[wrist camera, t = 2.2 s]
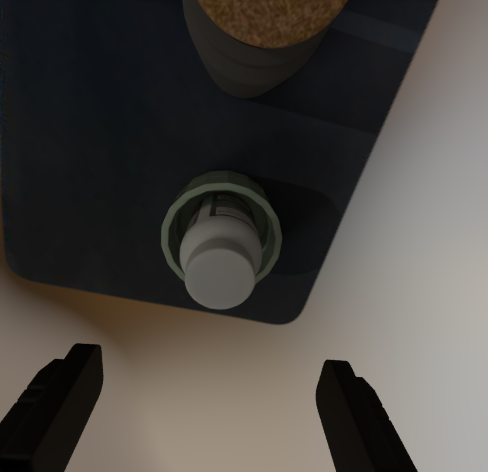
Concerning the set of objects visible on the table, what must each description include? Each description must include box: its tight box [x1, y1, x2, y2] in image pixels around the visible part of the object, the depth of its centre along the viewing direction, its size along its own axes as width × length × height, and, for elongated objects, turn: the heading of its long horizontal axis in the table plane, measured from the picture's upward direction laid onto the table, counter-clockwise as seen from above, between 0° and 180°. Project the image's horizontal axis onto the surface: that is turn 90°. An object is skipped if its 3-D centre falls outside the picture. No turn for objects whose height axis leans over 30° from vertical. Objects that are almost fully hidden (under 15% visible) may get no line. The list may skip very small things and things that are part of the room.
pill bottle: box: [180, 192, 262, 309], centre depth 21 cm, size 5×5×10 cm
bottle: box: [182, 0, 348, 98], centre depth 14 cm, size 6×6×15 cm
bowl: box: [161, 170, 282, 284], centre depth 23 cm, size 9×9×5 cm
